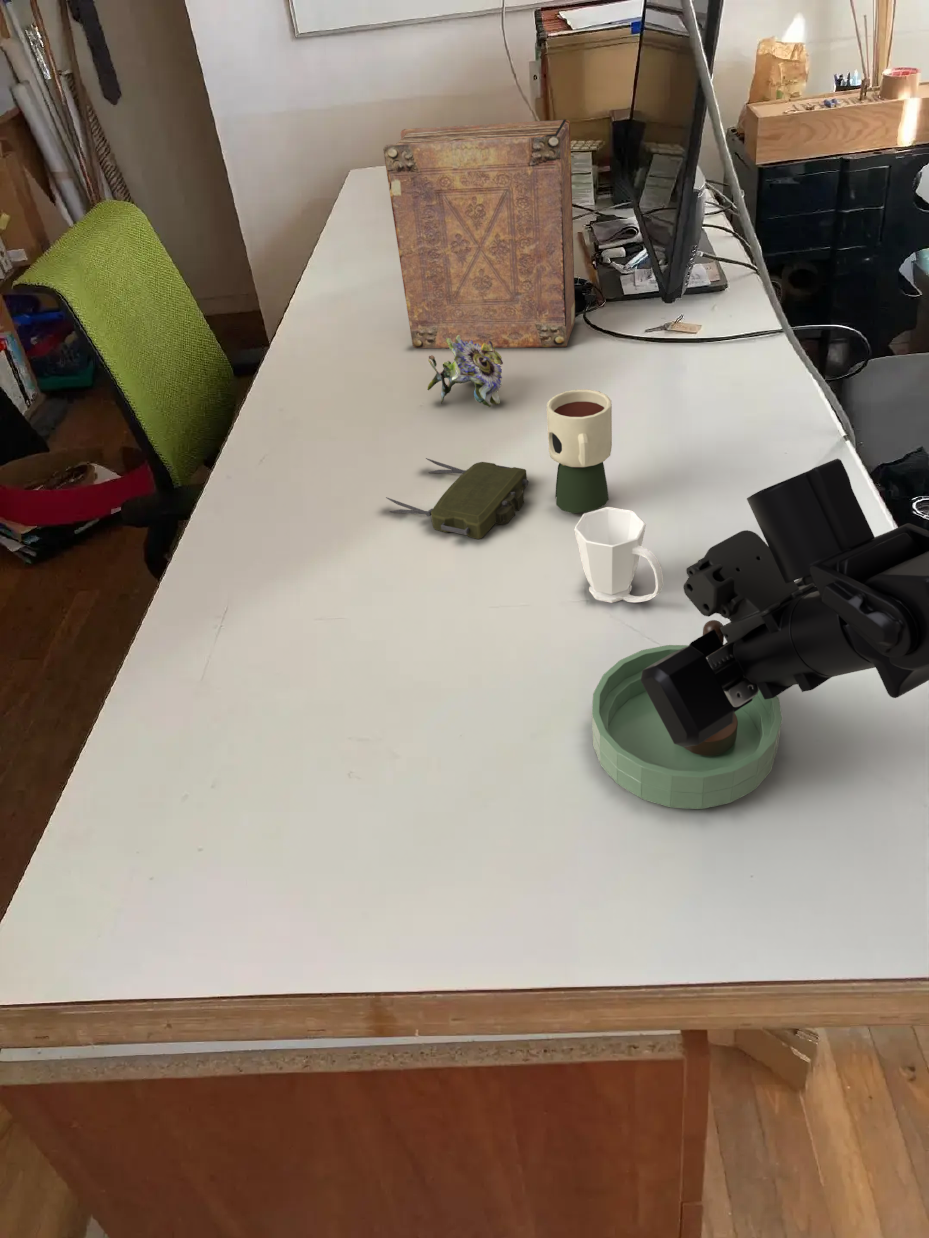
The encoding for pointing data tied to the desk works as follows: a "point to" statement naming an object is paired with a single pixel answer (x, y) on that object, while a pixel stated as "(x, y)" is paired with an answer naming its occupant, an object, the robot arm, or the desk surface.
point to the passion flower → (471, 370)
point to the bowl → (663, 769)
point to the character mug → (580, 447)
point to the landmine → (476, 499)
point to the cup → (614, 553)
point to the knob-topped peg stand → (728, 734)
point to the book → (485, 232)
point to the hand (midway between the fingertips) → (697, 669)
